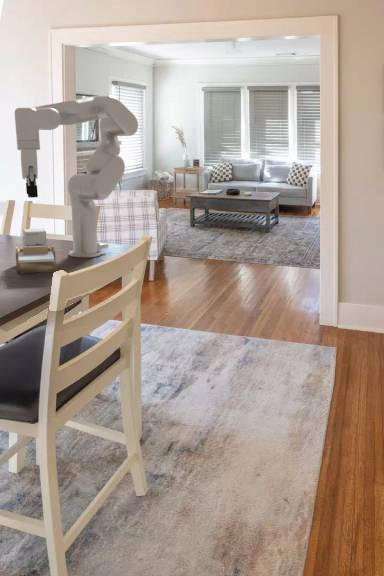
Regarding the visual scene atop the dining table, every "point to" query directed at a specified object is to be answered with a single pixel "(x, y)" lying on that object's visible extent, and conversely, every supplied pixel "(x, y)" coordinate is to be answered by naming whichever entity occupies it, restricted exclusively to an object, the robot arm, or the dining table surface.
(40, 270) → the box
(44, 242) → the supplement box
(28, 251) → the lid
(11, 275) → the dining table surface
